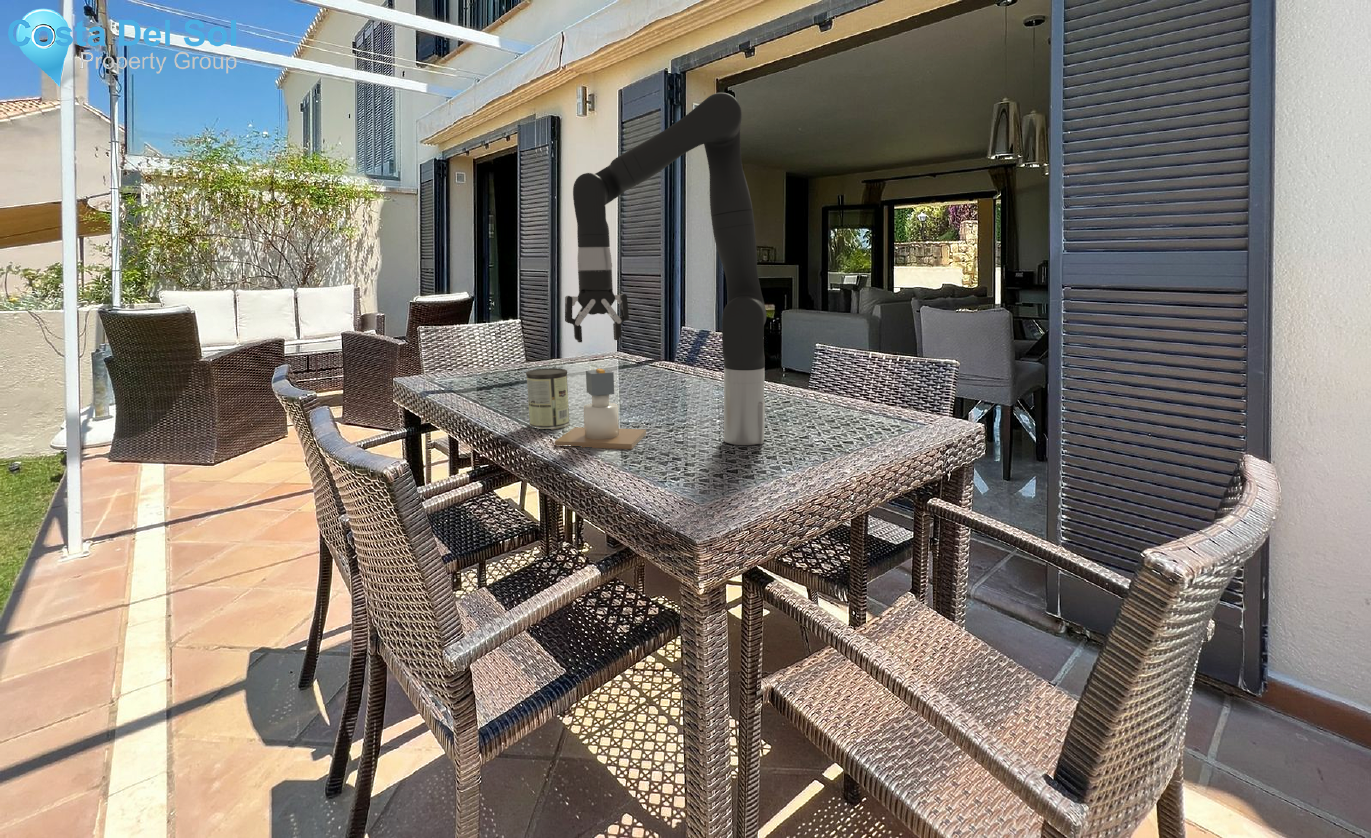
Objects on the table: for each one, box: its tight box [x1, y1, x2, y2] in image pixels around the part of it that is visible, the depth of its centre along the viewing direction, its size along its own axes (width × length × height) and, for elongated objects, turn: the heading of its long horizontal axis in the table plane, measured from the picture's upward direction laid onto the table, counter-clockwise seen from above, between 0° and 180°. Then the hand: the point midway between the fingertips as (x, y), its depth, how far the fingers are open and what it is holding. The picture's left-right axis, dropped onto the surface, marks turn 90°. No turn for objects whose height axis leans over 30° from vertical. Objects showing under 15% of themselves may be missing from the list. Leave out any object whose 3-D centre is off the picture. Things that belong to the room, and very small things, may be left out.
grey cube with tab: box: [585, 368, 615, 397], centre depth 163 cm, size 5×5×6 cm
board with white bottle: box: [554, 394, 647, 450], centre depth 165 cm, size 18×14×11 cm
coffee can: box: [525, 367, 570, 430], centre depth 181 cm, size 10×10×14 cm
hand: (598, 341), depth 161 cm, fingers open, 8 cm apart
